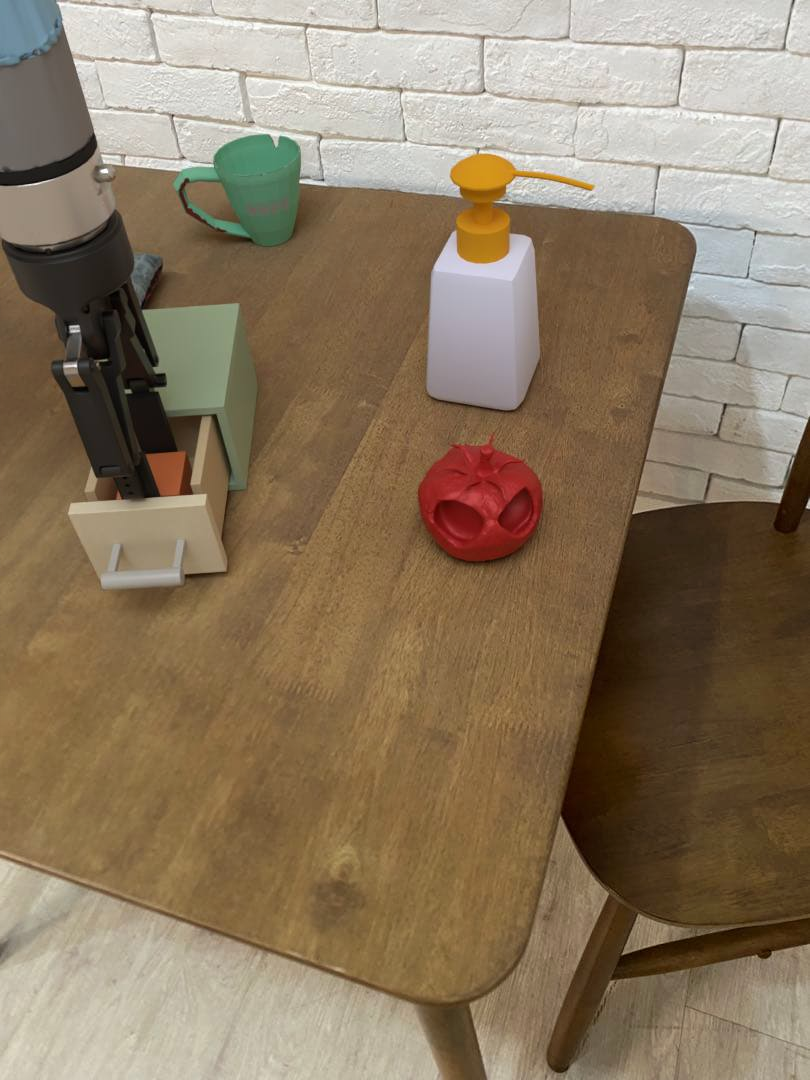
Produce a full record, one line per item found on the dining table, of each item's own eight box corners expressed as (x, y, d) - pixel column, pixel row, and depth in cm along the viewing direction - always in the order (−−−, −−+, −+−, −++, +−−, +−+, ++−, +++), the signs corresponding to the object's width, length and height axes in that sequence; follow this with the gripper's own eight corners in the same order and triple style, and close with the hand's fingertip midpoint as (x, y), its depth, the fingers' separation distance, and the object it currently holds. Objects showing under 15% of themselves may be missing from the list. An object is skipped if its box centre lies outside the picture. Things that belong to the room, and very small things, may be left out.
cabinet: (246, 489, 83) (223, 406, 76) (116, 498, 83) (82, 416, 76) (258, 385, 93) (239, 302, 86) (142, 393, 93) (113, 311, 86)
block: (133, 541, 77) (115, 499, 73) (142, 498, 80) (125, 455, 77) (193, 536, 77) (179, 494, 73) (200, 493, 80) (186, 450, 76)
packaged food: (65, 337, 100) (49, 297, 97) (98, 275, 108) (85, 236, 104) (143, 338, 99) (131, 298, 96) (172, 276, 107) (161, 236, 104)
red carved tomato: (416, 493, 81) (409, 411, 74) (530, 482, 81) (534, 399, 74) (426, 581, 75) (419, 500, 68) (550, 569, 75) (557, 487, 68)
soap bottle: (565, 426, 86) (584, 199, 69) (421, 402, 89) (407, 181, 73) (586, 363, 92) (608, 140, 75) (450, 343, 95) (443, 126, 79)
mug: (305, 208, 115) (292, 127, 108) (319, 248, 109) (307, 166, 101) (187, 229, 114) (166, 149, 106) (194, 272, 107) (172, 190, 100)
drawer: (221, 613, 73) (198, 547, 67) (89, 621, 73) (54, 556, 67) (240, 457, 85) (222, 389, 79) (126, 465, 85) (100, 398, 79)
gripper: (88, 306, 52) (186, 574, 69) (143, 147, 65) (214, 406, 82) (-46, 316, 52) (85, 581, 69) (35, 155, 65) (129, 412, 82)
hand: (155, 485), depth 75 cm, fingers open, 6 cm apart
